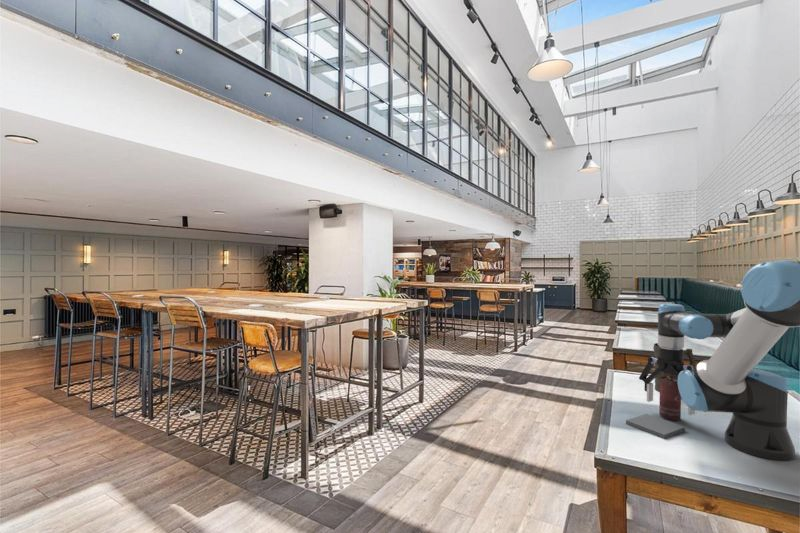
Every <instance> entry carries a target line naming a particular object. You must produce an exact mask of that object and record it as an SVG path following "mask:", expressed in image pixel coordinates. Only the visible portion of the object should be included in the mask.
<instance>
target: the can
mask: <svg viewBox="0 0 800 533" xmlns="http://www.w3.org/2000/svg"><path fill="white" fill-rule="evenodd" d="M681 407H682V397H681V395H680V392H679V389H678V379H677V378H673V377H668V376H666V377H661V379H660V392H659V416H660V417H661V418H662V417H663V418H662V419H664V418H665V419H664V420H667V419H668V420H667V421H671V420H672V421H673V422H679V421H680V420H681V414H682V412H681V411H682V410H681V409H682V408H681ZM672 421H671V422H672Z"/></svg>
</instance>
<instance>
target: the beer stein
mask: <svg viewBox="0 0 800 533" xmlns="http://www.w3.org/2000/svg"><path fill="white" fill-rule="evenodd" d="M658 347H659V345H658V342H656V343H654V344H653V352H654V357H655V358H656V359H658ZM683 350H684V356H687V357H688V361H689V362H688V363H689V364H688V365H689V366H690V365H693V366H694V367H695V368H696V366H697V364H696V363H697V362H696V359H695V356H694V353H693V348H686V349H683ZM658 367H659V365H658V364H657V362H656V363H655V364H654V371H655V370H656V369H657V368H658ZM683 371H685V369H683ZM666 376H668V377H673V378H677V379H678V377H677V376H676V375H671V374H669V373H664V372H662V373H661V374H659V375H658V376H657V377H656V378H655V379H654V384H655V385H654V391H655V390H656V391H657V392H659V393H660V379H661V377H666Z"/></svg>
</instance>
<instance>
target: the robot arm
mask: <svg viewBox="0 0 800 533" xmlns="http://www.w3.org/2000/svg"><path fill="white" fill-rule="evenodd" d="M741 286H743V287H742V288H741V289H740V294H741V296H742V299H743V303H744V306H745V307H744V308H742V309H739V310H736V311H733V312H731V313H723V314H721V313H718V314H716V313H689V312H686V310H685V306H684V305H682V304H677V303H661V304H659V306H658V313H657V343H658V345H659V347H658V359H656V358H655V356H651V357H648V359H647V363H646V365H645V366H644V368H643V370H642V372H641V374H640V375H639V377H638V379H639V380H640V381H643V383H644V391H645V392H646V402H647V403H648V402H649V403H650V402H653V401H654V382H653V381H654V380H655V378H656V377H657V376H658V375H659V374H661V373H662V372H664V373H669V374H671V375H676V376H677V377H678V389H679V392H680V395H681V400H682V401H683V403H684V404H685V405H686V406H687V407H688V408H687V412H688V413H687V415H688V416H693V415H695V414H696V411H697V412H700V411H701V412H704V413H706V412H708V413H709V412H711V413H732V416H731V418H730V421H729V422H728V425H727V426H726V429H725V431H724V441H725V442H726V443H727V444H728V445H729V446H731V447H732V448H734V449H737V450H738V451H741V452H743V453H746V454H749V455H751V456H755V457H759V458H763V459H769V460H774V461H791V460H790V459H792V460H794V459H795V458H796V448H795V446H794V443H793V440H792V438H791V436H790V432H789V431H788V427H787V426H788V424H787V422H788V421H787V420H788V396H789V390H788V381H787V379H786V378H785V377H784V376H782V375H780V374H777V373H774V372H772V371H768V370H765V369H764V370H763V369H759V368H756V366H758V364H759V363H760V362H761V361H762V359H763V358H764V357H766V355H767V354H768V353H769V351H770V350H771V349H772V348H773V347H774V346H775V344H776V343H777V342H778V341H779V340H780V339H781V337H782V336H784V335H785V333H786V332H787V331H788V329H789V328H798V327H800V261H798V260H797V261H795V260H787V259H783V260H782V259H781V260H780V259H779V260H774V261H765V262H760V263H758V264H756V265H754V266H753V267H751V268H750V269H749V270H748V271H747V272H746V274H745V275H744V276H743V278H742V281H741ZM685 337H687V338H689V339H697V340H705V339H707V338H723V340H722V342H721V343H720V344H719V345H718V347H717V349H716V350H715V351H714V353H713V354H712V355H711V357H710V358H709V359H704V360H701V361H699V363H698V364H696V366H695V367H694V366H693V365H690V366H689V364H688V365H687V364H685V363H684V360H685V355H684V350H685V349H684V347H685V340H684V339H685ZM656 362H657V364H658V365H659V367H658V368H657V369H656V370H655V369H654V371H653V372H652V373H651V371H652V369H653V367H655V363H656ZM683 369H684V371H683ZM650 373H651V374H650ZM794 457H795V458H794ZM793 458H794V459H793Z"/></svg>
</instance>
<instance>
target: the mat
mask: <svg viewBox="0 0 800 533" xmlns="http://www.w3.org/2000/svg"><path fill="white" fill-rule="evenodd" d="M625 424H626V425H628V426H631V427H634V428H636V429H638V430H641V431H644V432H646V433H649V434H651V435H654V436H657V437H659V438H660V439H667V438H669V437H671V436H675V435H677V434H680V433H682V432H685V428H686V427H685V426H682V425H681V424H680V425H679V424H677V423H674V422H672V421H670V420H667V419H664V418H660V417H658V416H654V415H652V414H649V413H644V414H642V415H638V416H635V417H631V418H629V419H626V420H625Z"/></svg>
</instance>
